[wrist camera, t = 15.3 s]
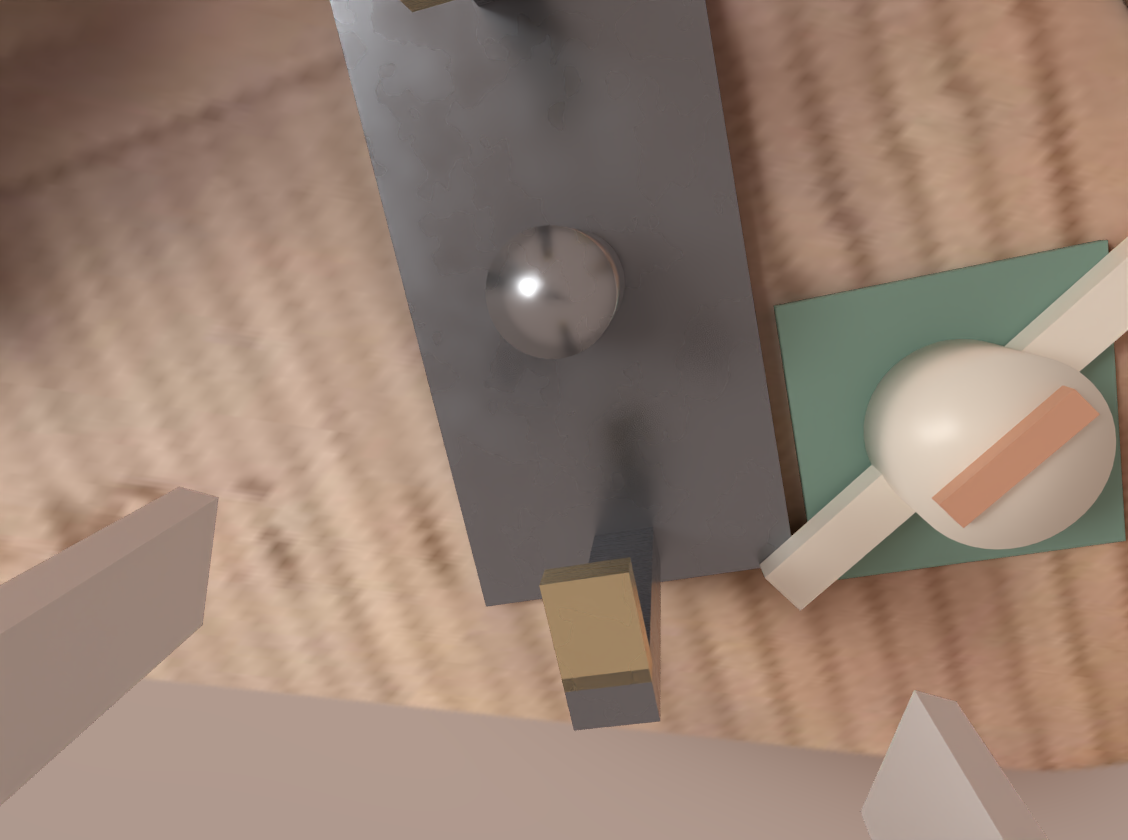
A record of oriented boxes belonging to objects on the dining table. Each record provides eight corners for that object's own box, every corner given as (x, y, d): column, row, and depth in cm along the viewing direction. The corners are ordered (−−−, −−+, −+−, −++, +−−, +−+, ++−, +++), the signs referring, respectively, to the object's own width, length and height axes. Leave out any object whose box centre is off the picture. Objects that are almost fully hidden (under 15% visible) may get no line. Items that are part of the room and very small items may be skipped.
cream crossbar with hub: (1095, 179, 31) (1199, 163, 25) (1219, 309, 32) (1346, 322, 26) (719, 527, 36) (735, 579, 30) (832, 633, 37) (869, 702, 31)
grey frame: (334, -17, 33) (119, -188, 20) (682, -124, 31) (698, -403, 17) (491, 595, 40) (405, 772, 27) (791, 552, 37) (863, 726, 24)
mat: (773, 305, 34) (775, 306, 34) (1099, 240, 32) (1107, 240, 31) (815, 577, 37) (818, 582, 37) (1117, 535, 35) (1125, 540, 34)
